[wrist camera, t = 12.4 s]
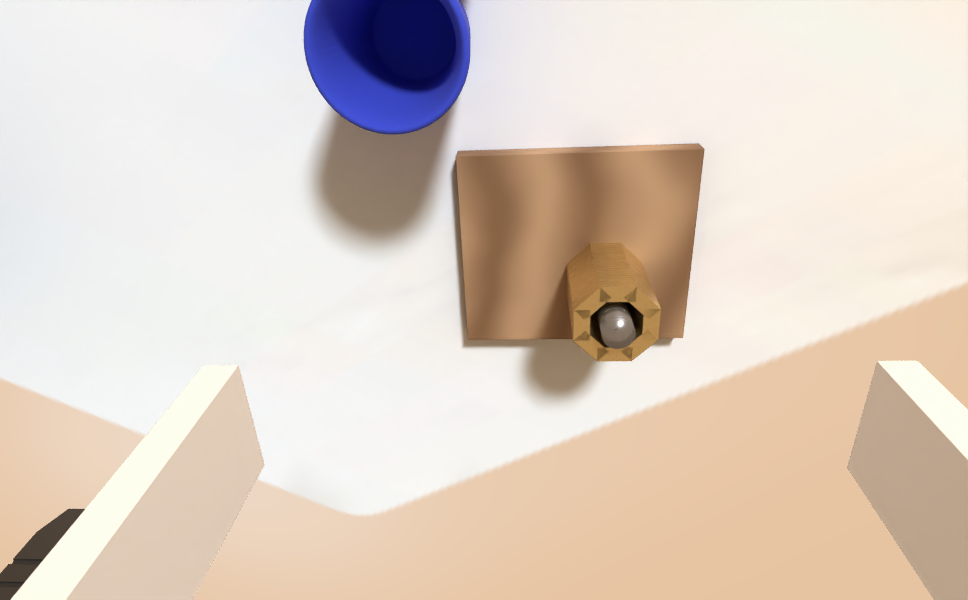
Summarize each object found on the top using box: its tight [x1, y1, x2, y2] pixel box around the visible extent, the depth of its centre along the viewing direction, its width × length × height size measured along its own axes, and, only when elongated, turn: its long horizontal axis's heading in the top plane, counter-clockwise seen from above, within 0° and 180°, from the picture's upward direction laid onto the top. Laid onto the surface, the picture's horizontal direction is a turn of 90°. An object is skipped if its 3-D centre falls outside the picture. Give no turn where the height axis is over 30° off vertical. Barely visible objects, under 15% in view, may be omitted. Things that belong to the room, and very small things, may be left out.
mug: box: [304, 0, 470, 134], centre depth 34 cm, size 8×12×10 cm
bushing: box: [567, 243, 661, 361], centre depth 42 cm, size 5×5×7 cm
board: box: [456, 144, 704, 340], centre depth 45 cm, size 16×14×2 cm
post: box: [596, 302, 636, 349], centre depth 41 cm, size 3×3×8 cm
